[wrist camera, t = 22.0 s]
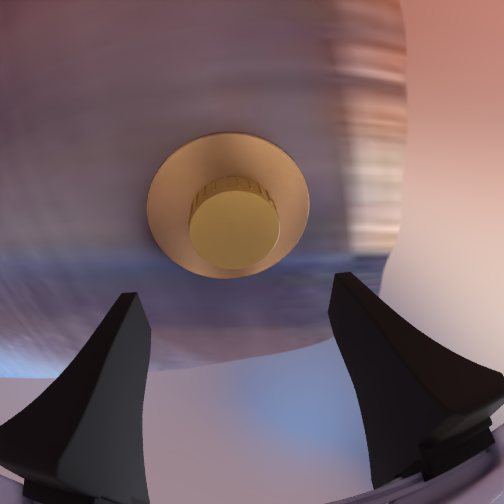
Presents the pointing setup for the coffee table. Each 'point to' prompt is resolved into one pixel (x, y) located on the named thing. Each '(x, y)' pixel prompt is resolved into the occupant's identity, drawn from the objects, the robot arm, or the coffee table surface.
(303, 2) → the coffee table surface
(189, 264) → the coaster
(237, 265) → the lid
